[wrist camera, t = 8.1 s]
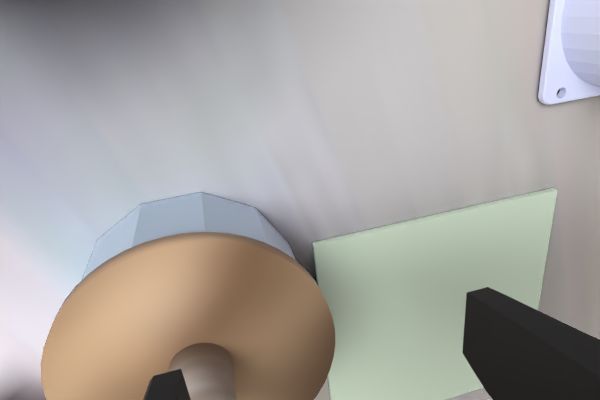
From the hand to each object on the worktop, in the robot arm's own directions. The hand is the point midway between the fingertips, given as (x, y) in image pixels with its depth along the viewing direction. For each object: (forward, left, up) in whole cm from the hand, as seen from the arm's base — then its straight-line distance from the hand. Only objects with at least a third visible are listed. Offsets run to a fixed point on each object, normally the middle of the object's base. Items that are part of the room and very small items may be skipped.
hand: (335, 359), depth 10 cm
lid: (+4, +5, -6) cm, 9 cm away
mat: (-9, +10, -10) cm, 17 cm away
